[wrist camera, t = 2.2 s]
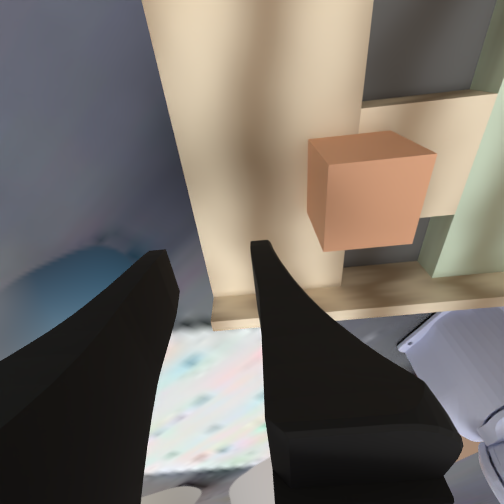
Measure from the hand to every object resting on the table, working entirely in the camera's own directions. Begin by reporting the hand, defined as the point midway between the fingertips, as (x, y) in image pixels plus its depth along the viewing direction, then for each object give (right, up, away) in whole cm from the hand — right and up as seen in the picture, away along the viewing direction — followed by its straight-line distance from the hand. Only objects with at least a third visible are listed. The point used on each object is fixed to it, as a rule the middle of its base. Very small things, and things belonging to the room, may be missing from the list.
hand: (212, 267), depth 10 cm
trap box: (+10, +7, +8) cm, 15 cm away
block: (+7, +5, +6) cm, 11 cm away
